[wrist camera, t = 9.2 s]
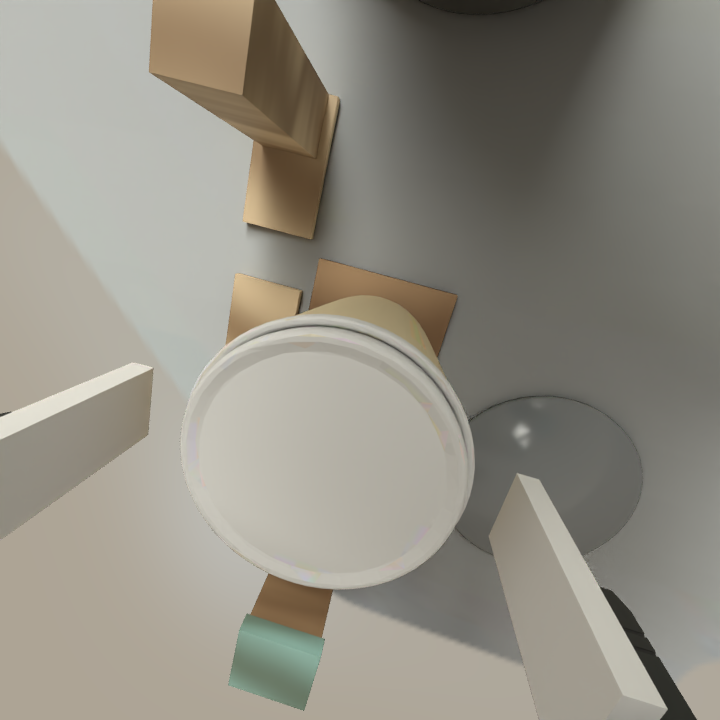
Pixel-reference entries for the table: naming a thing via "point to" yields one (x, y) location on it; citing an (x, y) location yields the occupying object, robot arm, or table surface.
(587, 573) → the robot arm
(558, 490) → the coaster
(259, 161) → the broken strip
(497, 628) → the table surface
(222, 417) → the coffee cup
